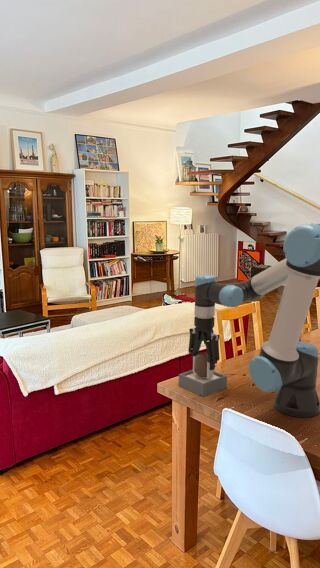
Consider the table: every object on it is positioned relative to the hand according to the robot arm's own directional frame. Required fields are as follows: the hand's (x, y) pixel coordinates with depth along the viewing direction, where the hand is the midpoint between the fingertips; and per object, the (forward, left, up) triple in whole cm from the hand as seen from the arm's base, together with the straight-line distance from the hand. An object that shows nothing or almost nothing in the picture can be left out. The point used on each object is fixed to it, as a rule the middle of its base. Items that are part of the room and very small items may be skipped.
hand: (203, 374), depth 166 cm
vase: (0, 0, -1) cm, 1 cm away
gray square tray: (0, 0, -5) cm, 5 cm away
